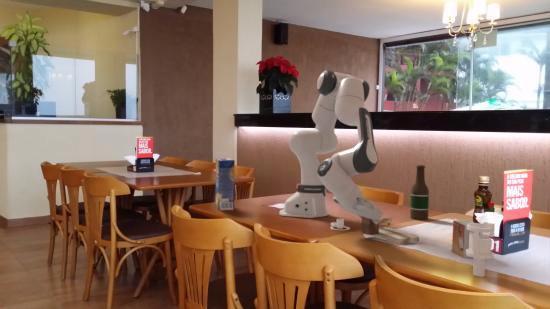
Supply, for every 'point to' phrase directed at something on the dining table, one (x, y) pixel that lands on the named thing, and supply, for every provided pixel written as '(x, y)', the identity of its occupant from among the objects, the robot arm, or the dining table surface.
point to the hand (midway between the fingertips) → (371, 221)
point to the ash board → (396, 236)
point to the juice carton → (225, 184)
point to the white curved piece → (339, 224)
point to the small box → (461, 237)
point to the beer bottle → (419, 196)
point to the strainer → (480, 246)
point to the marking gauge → (372, 225)
